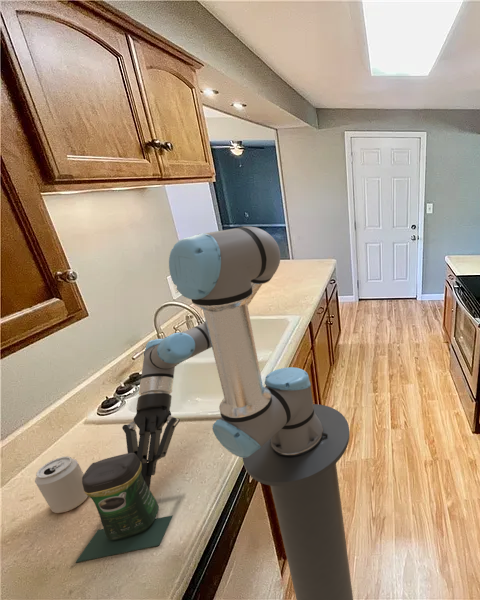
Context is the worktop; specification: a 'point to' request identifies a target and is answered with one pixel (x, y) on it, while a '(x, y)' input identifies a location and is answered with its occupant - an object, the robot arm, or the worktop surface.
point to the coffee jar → (120, 495)
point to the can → (61, 484)
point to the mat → (125, 541)
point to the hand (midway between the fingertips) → (143, 491)
